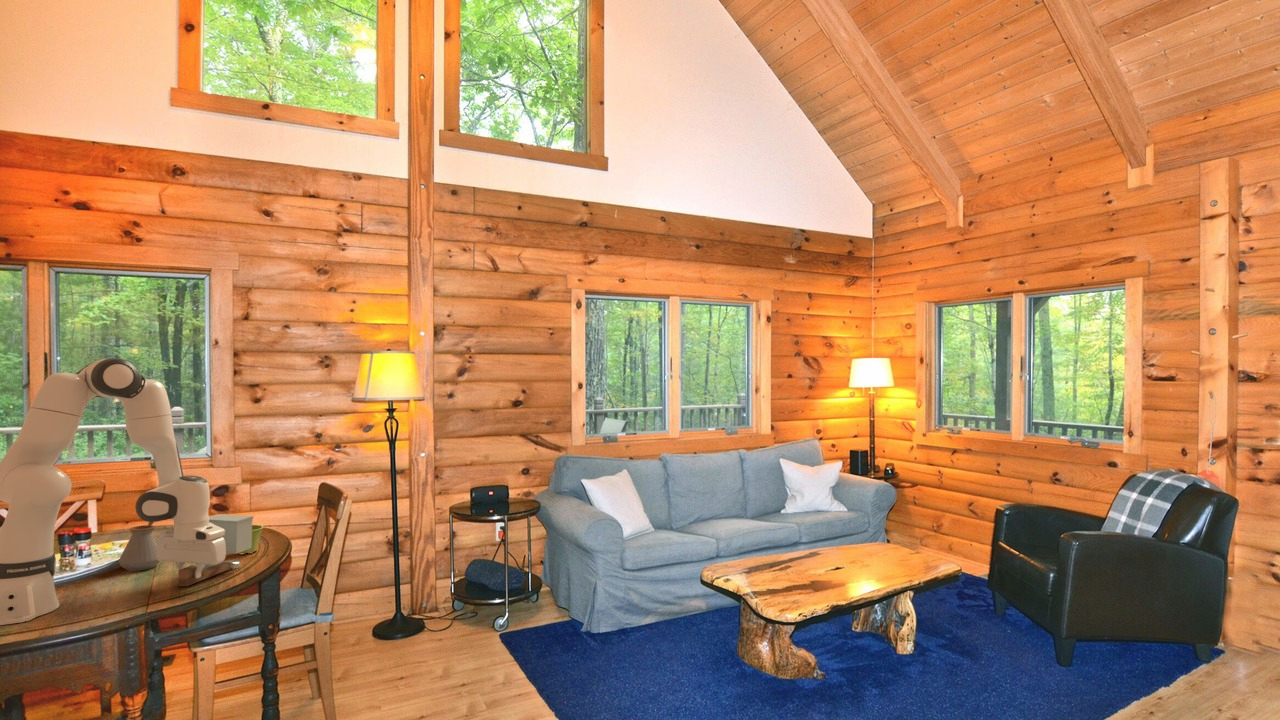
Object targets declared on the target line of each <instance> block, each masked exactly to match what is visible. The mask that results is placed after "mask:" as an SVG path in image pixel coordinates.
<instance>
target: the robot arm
mask: <svg viewBox="0 0 1280 720" xmlns="http://www.w3.org/2000/svg"><path fill="white" fill-rule="evenodd" d="M93 398H116V399H118V400H119V401H120V402H121V404H122V406H123V409H124V420H125V428H126V431H127V435H128V437H129V441H130V442H132V443H133V444H134V445H136V447H140V448H142V449H144V450H146V451H148V452H149V454H151V456H152V457H153V461H154V463H155V469H156V474H157V479H158V485H157V487H156V488H152V489H150V490H147V491H146V492H144V493H142V494H141V495H140V496H139V497H138V498H137V499H136V502H135V506H134V508H135V512H136V514H137V516H138V517H139V519H141V520H143V521H145V522H148V523H149V522H153V523H156V522H157V523H158V522H161V521H167V520H173V529H168V528H165V529H163V530H162V531H160V533H159V534H158V542H157V552H156V558H157V560H158V561H160V562H170V563H175V564H174V565H175V568H176V569H177V572H178V571H179V570H180V569H183V568H186V567H185V565H184V564H195V566H196V567H197V569H196V571H195V572H192V575H193V576H192V578H199V577H201V571H202V570H203V568H204V567H205V564H211V565H216V564H219V563H221V562H225V559H226V556H227V555H226V554H227V553H226V544H225V540H224V538H223V537H221V536H223V535H224V534H225V530H224V529H223V528H221V527H218V526H216V525H214V524H212V523H210V522H209V517H210V515H209V509H210V506H211V494H210V493H211V492H210V484H209V482H208V480H207V479H206V478H205V477H202V476H198V475H184V472H183V467H182V461H181V457H180V453H179V452H180V451H179V448H178V443H177V441H176V437H175V432H174V425H173V417H172V415H173V414H172V407H171V403H170V400H169V396H168V393H167V390H166V388H165V386H164V384H163V383H162V382H160V381H158V380H156V379H148V378H147V379H146V378H145V376H144V375H142V373H141V372H140V371H139V370H138V368H137V367H136V366H135V365H134V364H133V363H132V362H131V361H128V360H126V359H123V358H119V357H112V358H111V357H107V358H106V357H105V358H100V359H98V360H95V361H92V362H90V363H88V364H87V365H85V366H84V367H83V368H81V369H80V370H79V371H77V372H76V373H71V372H56V373H52V374H51V375H48V376H47V377H46V379H45V380H44V382H43V383H42V384H41V386H40V387H39V389H38V390H37V393H36V395H35V396H34V398H33V400H32V402H31V404H30V408H29V409H28V411H27V414H26V417H25V419H24V421H23V424H22V426H21V429H20V431H19V433H18V435H17V437H16V439H15V441H14V442H13V443H12V445H11V446H10V448H9V450H8V451H7V452H6V453H5V455H4V456H3V458H2V459H1V460H0V502H3V503H7V504H8V508H7V509H8V510H7V513H6V516H5V519H4V521H3V523H2V525H1V526H0V626H4V625H12V624H17V623H26V622H28V621H31V620H33V619H35V618H36V617H37V618H38V617H39V616H43V615H46V614H49V613H51V612H53V611H55V610H57V609H58V608H59V607H60V602H59V600H58V596H57V593H56V587H55V579H54V576H55V573H56V567H57V566H56V563H57V558H56V554H55V553H54V550H55V549H54V546H55V545H54V544H55V529H56V522H57V519H58V515H59V512H60V509H61V506H62V503H63V502H64V501H65V500H66V499H67V498H68V497H69V495H70V493H71V490H72V486H73V485H72V480H71V478H70V476H69V475H68V474H67V473H66V472H64V471H62V470H61V469H60V468H57V467H56V466H54V465H55V463H56V461H58V458H60V456H62V453H63V452H64V451H66V450H67V449H68V448H70V446H71V445H72V443H73V440H74V439H75V436H76V433H77V430H78V428H79V425H80V423H81V420H82V417H83V414H84V411H85V409H86V406H87V405H88V403H89V402H90V401H91V400H92V399H93ZM25 621H26V622H25Z"/></svg>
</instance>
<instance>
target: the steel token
mask: <svg viewBox="0 0 1280 720" xmlns="http://www.w3.org/2000/svg"><path fill="white" fill-rule="evenodd" d="M224 562H230V563H231V569H234V568H238V567H239V566H240V567H241V560H239V559H230V560H224ZM238 569H239V568H238Z"/></svg>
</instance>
